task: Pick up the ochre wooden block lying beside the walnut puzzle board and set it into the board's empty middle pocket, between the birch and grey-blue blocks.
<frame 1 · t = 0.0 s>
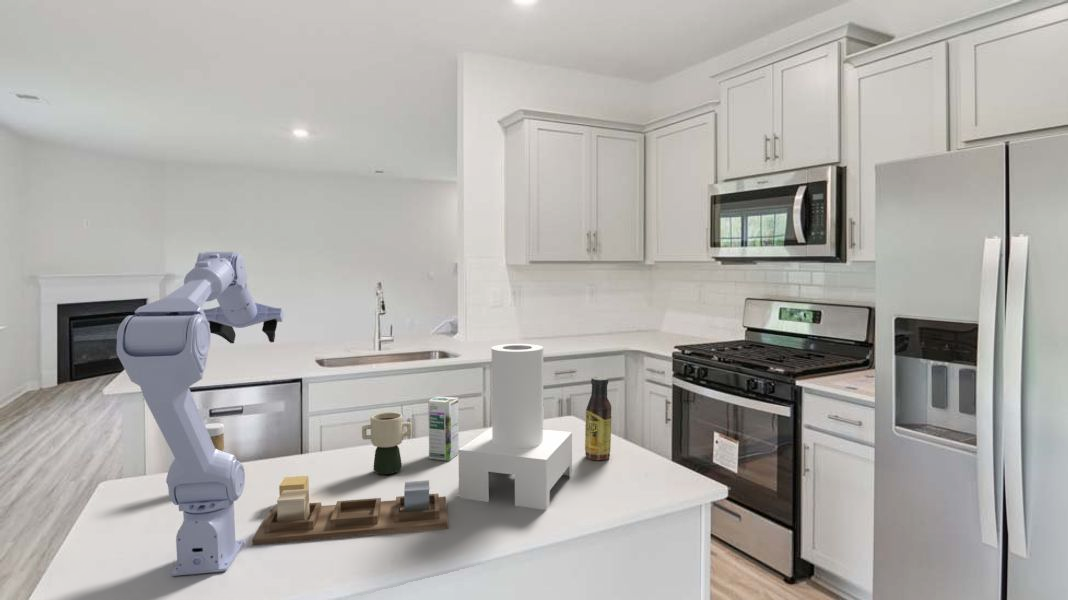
hand: (253, 338, 120), 32 cm above the counter, tool tilted 50°, fingers open, 7 cm apart
syrup box: (444, 457, 144), on the counter
ochre block: (294, 505, 116), on the counter
sauce bottle: (598, 458, 143), on the counter
character mug: (387, 472, 134), on the counter
sprinkles bottle: (214, 487, 125), on the counter
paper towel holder: (518, 487, 125), on the counter
puzzle board: (357, 521, 108), on the counter
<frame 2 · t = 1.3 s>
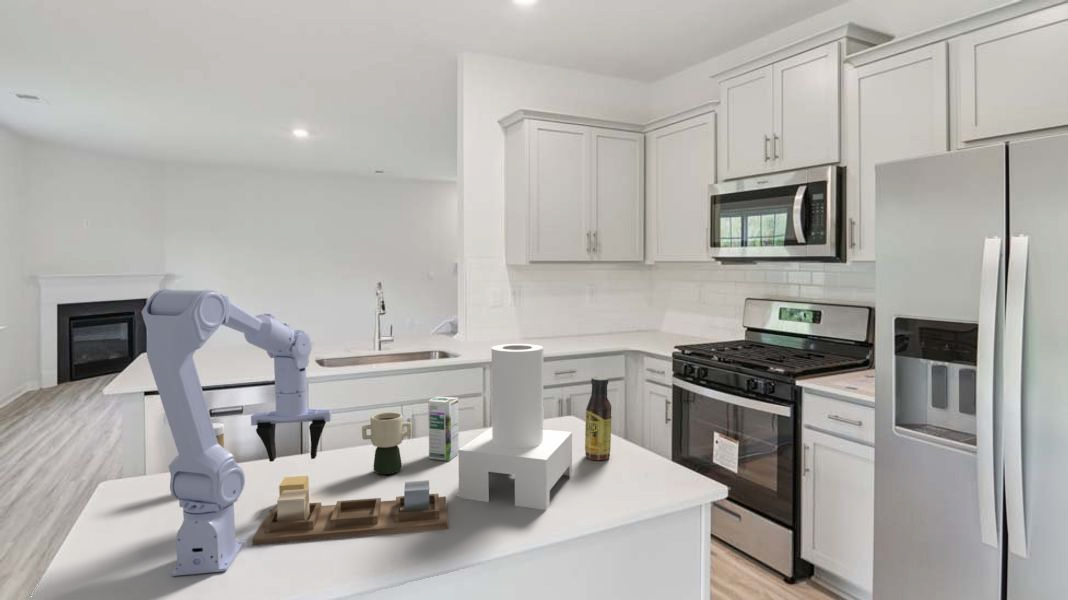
hand: (293, 458, 115), 9 cm above the counter, tool pointing down, fingers open, 7 cm apart
nothing on the counter moved.
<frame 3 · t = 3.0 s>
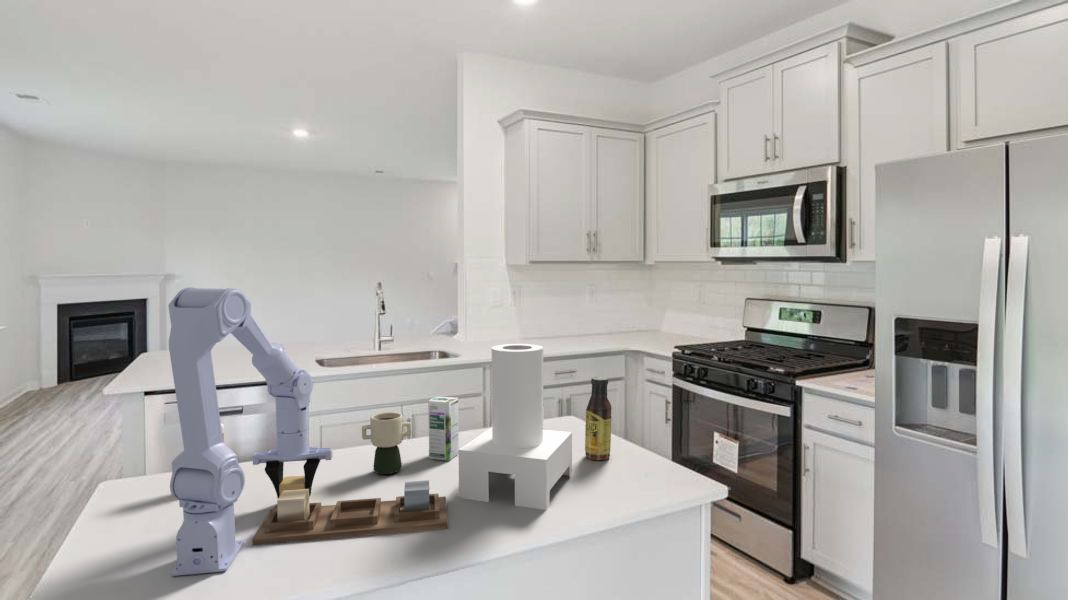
hand: (294, 496, 116), 2 cm above the counter, tool pointing down, fingers closed on ochre block, 4 cm apart
ochre block: (294, 504, 116), on the counter, touching gripper
everything else where it was.
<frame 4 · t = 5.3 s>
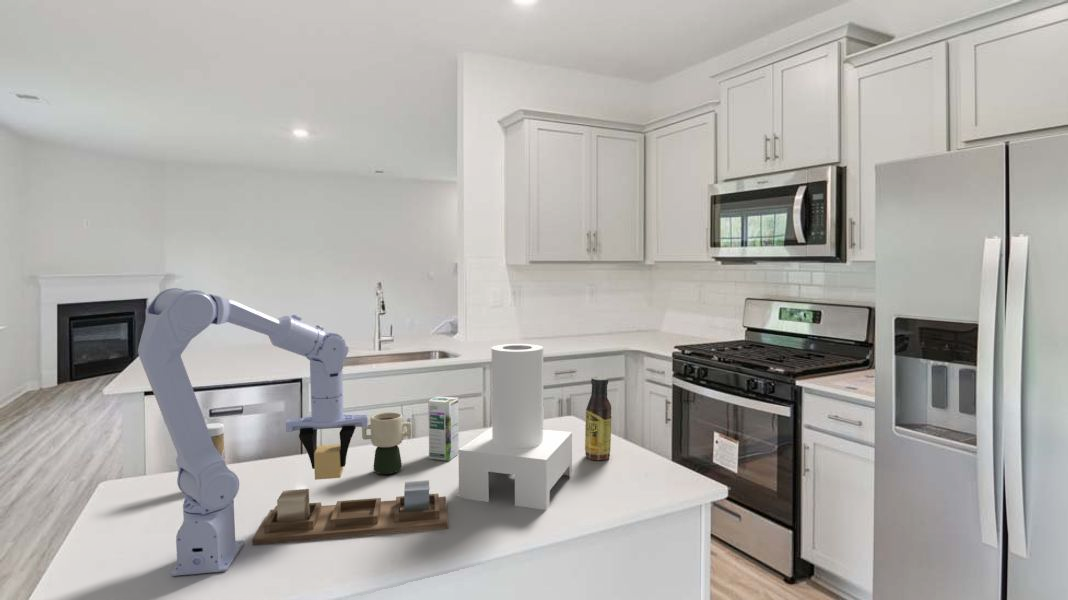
hand: (329, 465, 111), 9 cm above the counter, tool pointing down, fingers closed on ochre block, 4 cm apart
ochre block: (329, 474, 111), point 8 cm above the counter, touching gripper
everything else where it was.
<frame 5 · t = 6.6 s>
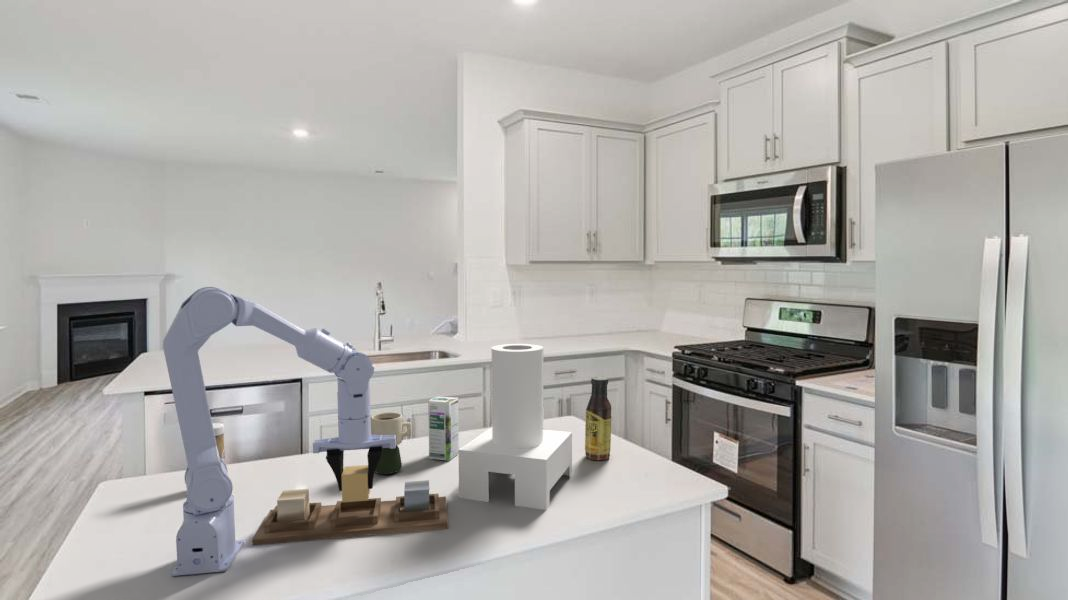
hand: (356, 487, 108), 6 cm above the counter, tool pointing down, fingers closed on ochre block, 4 cm apart
ochre block: (356, 496, 108), point 5 cm above the counter, touching gripper
everything else where it was.
when the fingers open (5 cm above the counter, at t = 7.5 s): ochre block drops 2 cm, resting on puzzle board.
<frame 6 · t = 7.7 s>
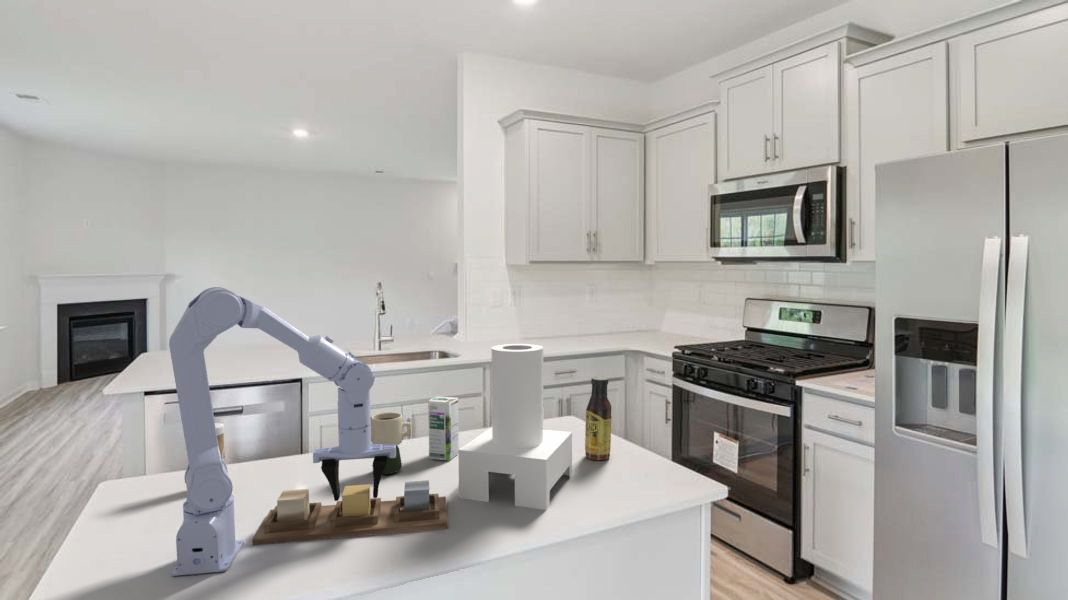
hand: (356, 497, 108), 5 cm above the counter, tool pointing down, fingers open, 6 cm apart
ochre block: (357, 516, 108), point 1 cm above the counter, touching puzzle board
everything else where it was.
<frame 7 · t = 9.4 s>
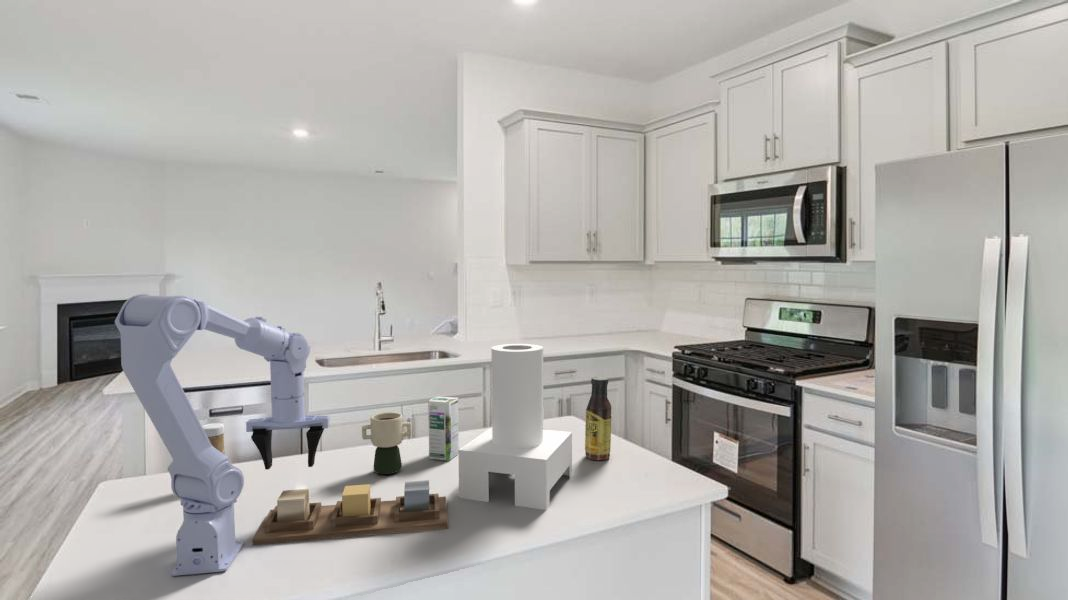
hand: (290, 466, 111), 9 cm above the counter, tool pointing down, fingers open, 7 cm apart
nothing on the counter moved.
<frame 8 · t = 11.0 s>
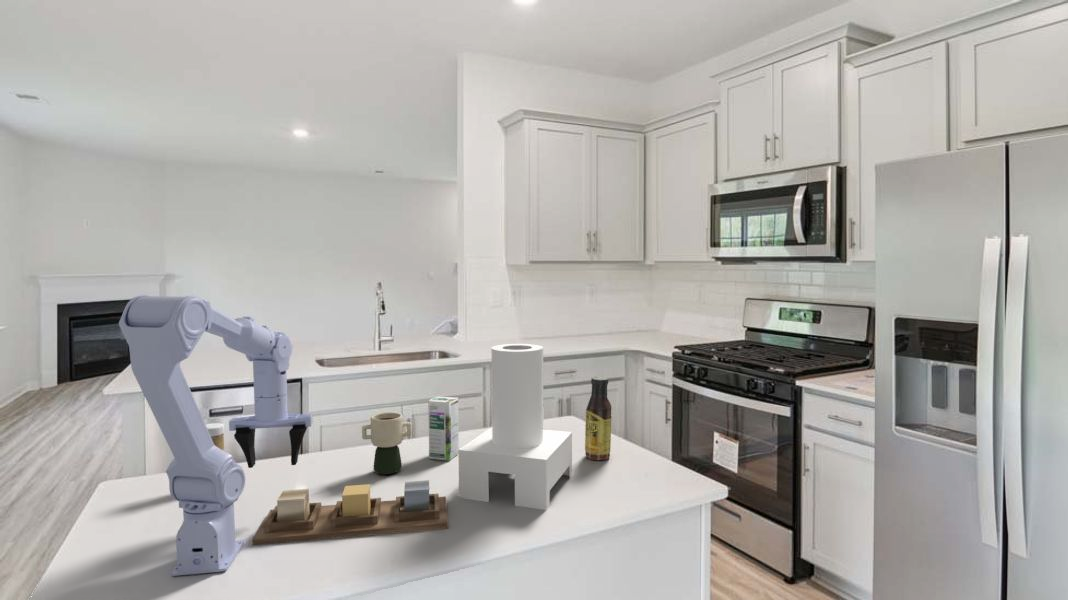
hand: (273, 464, 112), 9 cm above the counter, tool pointing down, fingers open, 7 cm apart
nothing on the counter moved.
at the end: ochre block 0.1 cm off-centre on the puzzle board, point 1.0 cm above the puzzle board's base; ochre block tilted 0°; the gripper is holding nothing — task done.
